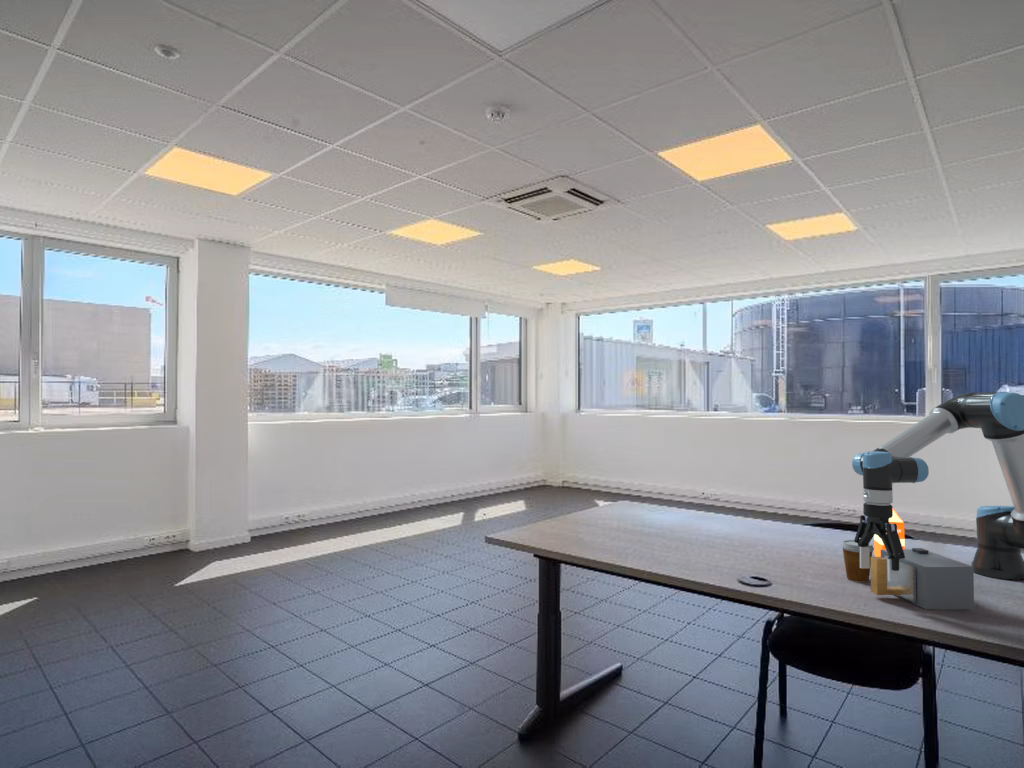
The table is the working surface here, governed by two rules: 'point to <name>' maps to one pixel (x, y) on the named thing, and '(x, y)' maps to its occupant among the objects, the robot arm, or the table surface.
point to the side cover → (884, 587)
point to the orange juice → (878, 541)
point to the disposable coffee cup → (855, 561)
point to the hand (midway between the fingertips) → (878, 574)
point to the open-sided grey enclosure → (939, 580)
